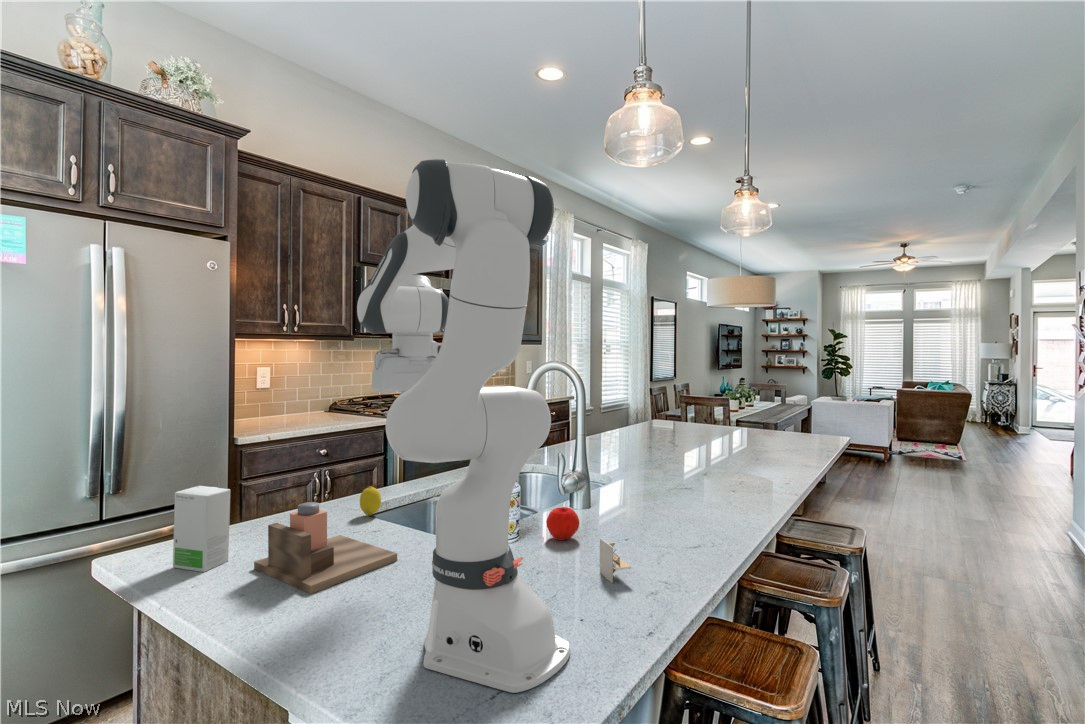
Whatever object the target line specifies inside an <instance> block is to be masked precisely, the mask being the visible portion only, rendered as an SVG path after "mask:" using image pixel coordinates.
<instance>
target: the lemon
mask: <svg viewBox="0 0 1085 724" xmlns="http://www.w3.org/2000/svg"><path fill="white" fill-rule="evenodd" d="M381 504H382V496H381V493H380V491H379V490H378V489H377V488H376V487H373V486H372V485H371V486H370V485H369V486H368V487H366V488H364V489H363V490H362V492H361V494H360V497H359V506H360V509H361V511H362V512H363V513H364V514H367V515H368V516H370V517H371V516H373V515H374V514H375V513H376V512H378V511H379V509H380V508H381Z"/></svg>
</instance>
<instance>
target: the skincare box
mask: <svg viewBox="0 0 1085 724" xmlns="http://www.w3.org/2000/svg"><path fill="white" fill-rule="evenodd" d="M173 508H174V515H173V517H174V518H173V519H174V520H173V546H172V547H173V548H172V567H173V569H174V568H175V569H181V570H188V571H196V572H201V573H206V572H207V571H210V570H212V569H215V568H216V567H218V566H221V565H222V564H225V563H227V562H229V552H230V551H229V547H230V517H231V515H230V513H231V489H230V488H223V487H221V488H220V487H217V486H205V485H197V486H192V487H189V488H185V489H183V490H178V491H176V492H174V507H173Z"/></svg>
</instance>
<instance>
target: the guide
mask: <svg viewBox="0 0 1085 724" xmlns="http://www.w3.org/2000/svg"><path fill="white" fill-rule="evenodd" d="M267 526H268V527H267V528H268V529H267V537H268V541H267V547H268V550H267V551H268V553H267V555H268V556H267V557H265V558H260V559H258V560H254V561H253V569H254V570H256V571H258V572H261V573H262V574H265V575H267V576H269V577H271V578H273V579H276V580H278V581H281V582H282V583H286V584H287V585H290V586H292V587H294V588H296V589H299V590H301V591H303V592H305V593H308V594H310V595H312V594H315V593H316V592H320V591H322V590H325V589H327V588H330V587H333V586H335V585H337V584H340V583H343V582H346V581H348V580H351V579H353V578H356V577H358V576H360V575H364V574H366V573H368V572H371V571H374V570H376V569H378V568H382V567H384V566H387V565H389V564H392V563H394V562H397V561H398V553H397V552H396V551H395V552H394V551H391V550H388V549H385V548H382V547H378V546H375V545H372V544H369V543H366V542H363V541H360V540H357V539H354V538H351V537H348V536H345V535H342V534H339V535H336V536H333V537H332V536H331V537H329V538H327V546H326V547H323V548H320V549H317V550H314V551H311V534H309V533H306V532H303V531H300V530H297V529H294V528H291V527H290V526H288V525H285V524H281V523H279V522H276V523H275V522H274V523H272V524H268V525H267ZM363 573H364V574H363ZM355 576H356V577H355ZM352 577H353V578H352ZM345 580H346V581H345Z"/></svg>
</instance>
